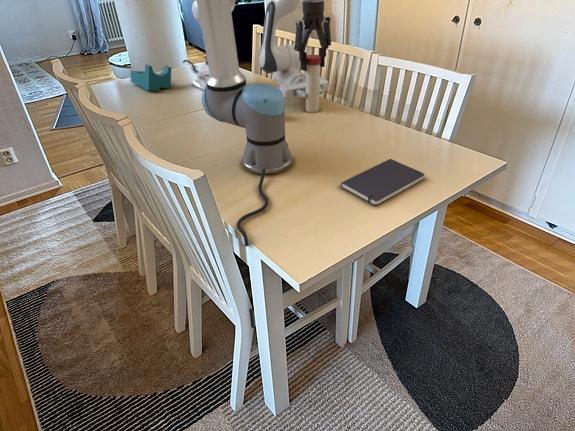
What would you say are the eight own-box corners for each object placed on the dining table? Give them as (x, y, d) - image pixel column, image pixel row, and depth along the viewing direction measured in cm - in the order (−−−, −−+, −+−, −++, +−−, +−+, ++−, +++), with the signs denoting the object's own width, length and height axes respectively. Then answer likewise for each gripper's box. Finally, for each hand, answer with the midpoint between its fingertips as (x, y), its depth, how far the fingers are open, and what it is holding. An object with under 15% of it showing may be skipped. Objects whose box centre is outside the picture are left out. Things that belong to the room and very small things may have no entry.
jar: (302, 108, 163) (302, 58, 151) (314, 106, 165) (315, 56, 153) (310, 113, 159) (310, 61, 147) (321, 110, 161) (323, 59, 149)
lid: (324, 62, 151) (324, 56, 150) (312, 66, 148) (312, 59, 146) (313, 59, 155) (313, 53, 153) (301, 62, 151) (301, 56, 150)
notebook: (389, 163, 124) (340, 187, 113) (390, 158, 123) (341, 182, 112) (424, 178, 116) (375, 206, 105) (425, 174, 115) (376, 201, 104)
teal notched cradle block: (170, 90, 188) (171, 67, 184) (148, 90, 181) (148, 66, 177) (152, 82, 199) (152, 60, 195) (130, 81, 192) (130, 58, 187)
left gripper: (274, 80, 162) (289, 90, 152) (318, 72, 169) (335, 81, 159) (274, 95, 165) (290, 106, 155) (317, 87, 173) (335, 97, 163)
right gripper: (295, 4, 132) (295, 75, 145) (343, -2, 141) (340, 65, 154) (282, 2, 137) (284, 70, 150) (330, -4, 146) (328, 61, 159)
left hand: (313, 93), depth 157 cm, fingers closed on jar, 5 cm apart
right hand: (312, 68), depth 152 cm, fingers open, 8 cm apart
